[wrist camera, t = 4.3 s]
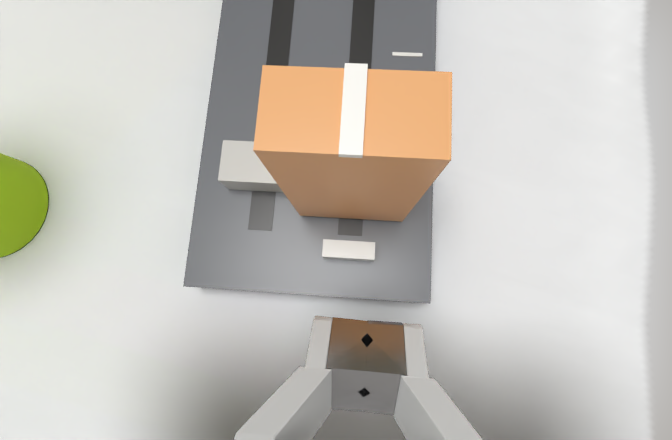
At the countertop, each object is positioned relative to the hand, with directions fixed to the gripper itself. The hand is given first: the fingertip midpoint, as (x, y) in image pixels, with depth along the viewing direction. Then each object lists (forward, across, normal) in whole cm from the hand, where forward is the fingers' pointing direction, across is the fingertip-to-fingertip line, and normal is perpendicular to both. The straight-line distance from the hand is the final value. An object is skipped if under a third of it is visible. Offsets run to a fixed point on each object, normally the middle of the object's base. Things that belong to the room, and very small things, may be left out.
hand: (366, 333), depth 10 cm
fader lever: (+9, +1, 0) cm, 9 cm away
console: (+15, +3, -2) cm, 15 cm away
